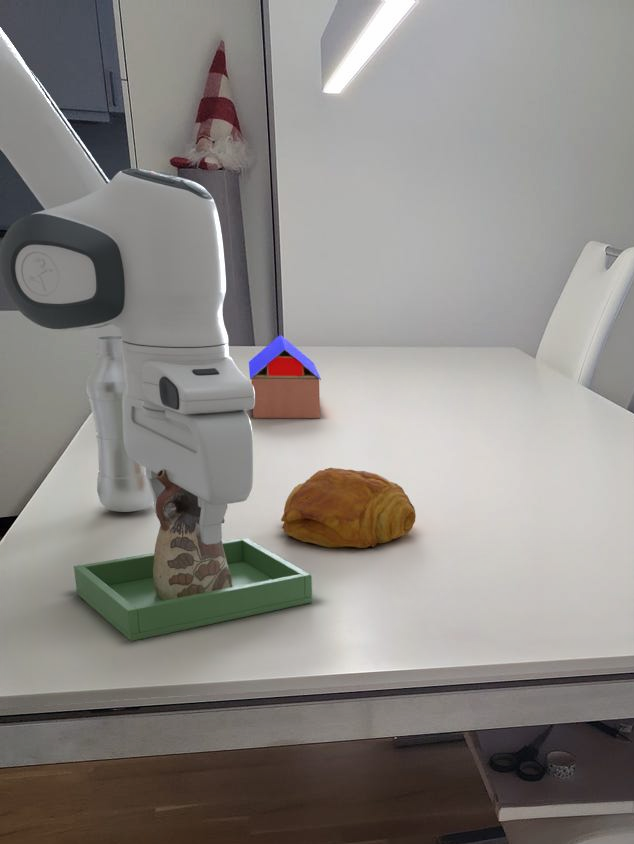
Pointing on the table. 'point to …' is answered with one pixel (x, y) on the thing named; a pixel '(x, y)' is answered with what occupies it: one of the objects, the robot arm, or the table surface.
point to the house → (284, 382)
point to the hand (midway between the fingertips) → (187, 528)
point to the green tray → (150, 615)
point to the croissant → (347, 509)
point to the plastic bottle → (114, 433)
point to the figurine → (185, 548)
